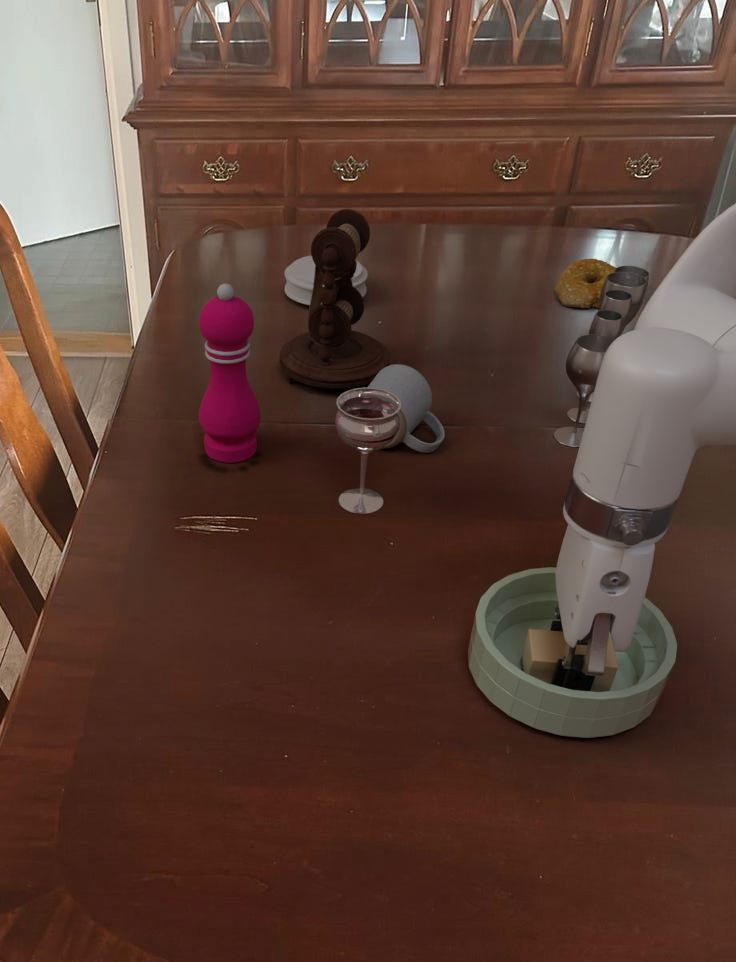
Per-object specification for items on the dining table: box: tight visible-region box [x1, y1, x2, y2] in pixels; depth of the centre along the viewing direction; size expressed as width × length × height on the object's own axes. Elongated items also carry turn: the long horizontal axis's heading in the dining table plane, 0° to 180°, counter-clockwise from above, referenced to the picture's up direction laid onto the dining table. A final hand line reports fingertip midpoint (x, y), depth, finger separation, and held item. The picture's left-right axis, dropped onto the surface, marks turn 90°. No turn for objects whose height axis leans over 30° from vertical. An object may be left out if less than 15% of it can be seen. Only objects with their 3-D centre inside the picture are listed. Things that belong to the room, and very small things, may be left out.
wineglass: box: [334, 387, 401, 515], centre depth 99 cm, size 7×7×12 cm
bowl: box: [467, 566, 678, 739], centre depth 81 cm, size 17×17×6 cm
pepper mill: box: [198, 283, 262, 464], centre depth 104 cm, size 7×7×20 cm
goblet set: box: [553, 265, 650, 448], centre depth 115 cm, size 28×6×13 cm, turn 154°
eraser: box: [520, 629, 618, 692], centre depth 80 cm, size 7×4×4 cm, turn 82°
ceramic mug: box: [366, 363, 446, 454], centre depth 110 cm, size 11×8×8 cm
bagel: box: [554, 258, 617, 309], centre depth 140 cm, size 10×11×5 cm
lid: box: [284, 254, 368, 306], centre depth 142 cm, size 13×13×5 cm
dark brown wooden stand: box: [279, 208, 391, 389], centre depth 118 cm, size 15×15×20 cm
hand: (565, 674), depth 81 cm, fingers closed on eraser, 4 cm apart
